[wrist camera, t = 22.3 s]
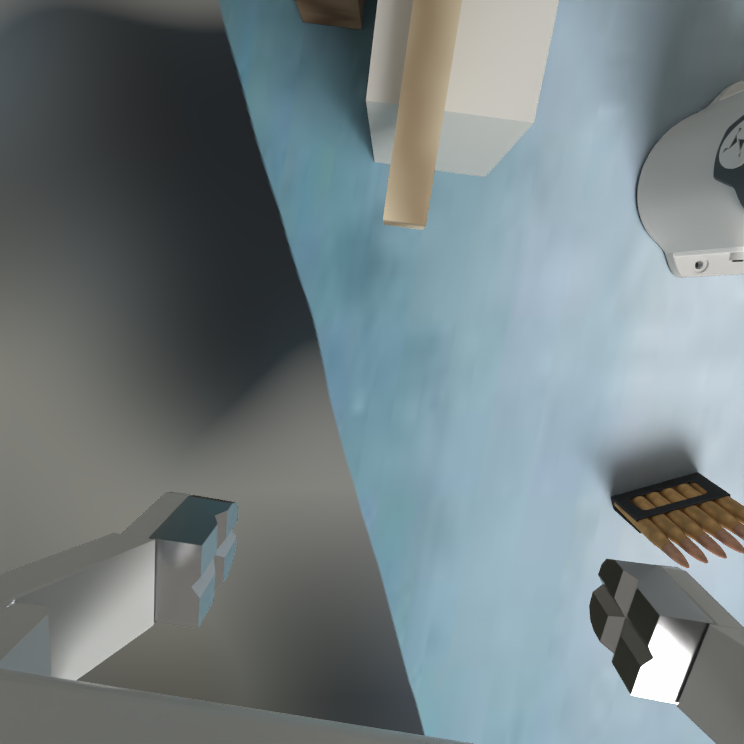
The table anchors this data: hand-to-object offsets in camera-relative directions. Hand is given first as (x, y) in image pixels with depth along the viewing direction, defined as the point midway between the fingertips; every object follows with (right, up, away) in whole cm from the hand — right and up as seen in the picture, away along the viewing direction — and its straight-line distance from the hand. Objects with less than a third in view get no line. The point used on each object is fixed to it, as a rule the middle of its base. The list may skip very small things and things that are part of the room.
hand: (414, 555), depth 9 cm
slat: (+3, +27, +19) cm, 33 cm away
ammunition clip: (+34, -11, +41) cm, 55 cm away
